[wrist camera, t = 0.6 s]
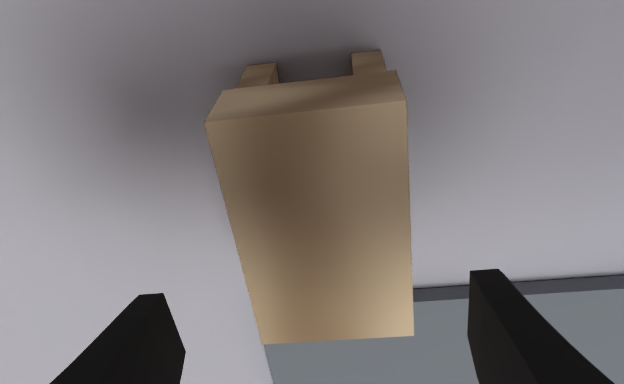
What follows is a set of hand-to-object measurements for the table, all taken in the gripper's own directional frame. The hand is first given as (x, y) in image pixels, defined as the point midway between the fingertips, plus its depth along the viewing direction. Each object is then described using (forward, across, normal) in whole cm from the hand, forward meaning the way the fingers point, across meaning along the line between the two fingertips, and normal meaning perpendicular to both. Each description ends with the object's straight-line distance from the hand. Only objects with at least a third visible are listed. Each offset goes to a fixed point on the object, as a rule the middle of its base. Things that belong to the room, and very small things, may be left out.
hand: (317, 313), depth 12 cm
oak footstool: (+8, 0, 0) cm, 8 cm away
